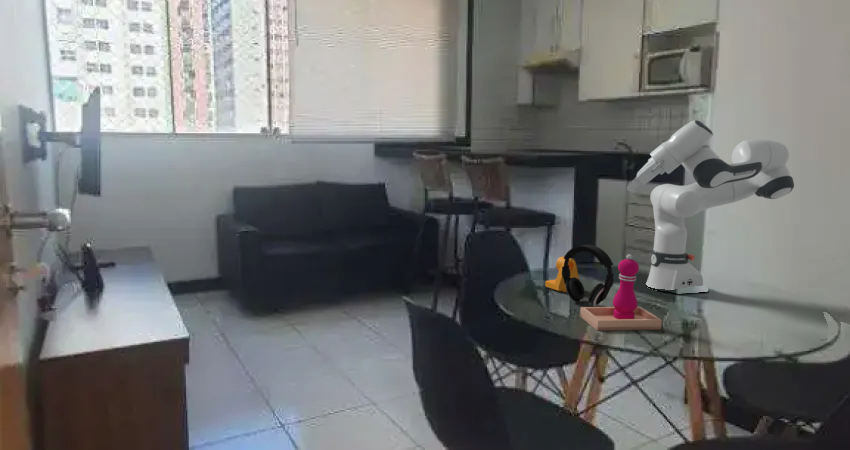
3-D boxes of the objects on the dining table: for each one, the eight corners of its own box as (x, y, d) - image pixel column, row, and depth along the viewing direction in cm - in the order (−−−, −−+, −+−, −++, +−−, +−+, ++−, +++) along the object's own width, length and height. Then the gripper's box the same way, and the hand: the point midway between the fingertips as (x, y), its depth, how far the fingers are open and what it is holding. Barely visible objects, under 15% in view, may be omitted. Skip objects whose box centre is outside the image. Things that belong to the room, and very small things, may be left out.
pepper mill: (635, 315, 187) (642, 253, 183) (635, 322, 180) (642, 257, 177) (611, 312, 189) (617, 250, 186) (610, 318, 182) (616, 255, 179)
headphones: (614, 308, 197) (619, 249, 194) (602, 312, 192) (608, 252, 188) (568, 295, 210) (572, 240, 206) (555, 299, 204) (559, 242, 201)
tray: (639, 315, 190) (640, 306, 189) (660, 329, 177) (661, 319, 177) (579, 316, 187) (580, 307, 186) (597, 330, 174) (598, 320, 174)
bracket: (564, 284, 225) (567, 253, 223) (579, 289, 219) (581, 257, 217) (543, 288, 219) (546, 256, 217) (558, 293, 213) (560, 260, 211)
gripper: (671, 169, 180) (634, 199, 185) (668, 166, 199) (635, 193, 204) (656, 154, 181) (620, 184, 186) (655, 152, 200) (622, 179, 205)
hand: (628, 188), depth 195 cm, fingers open, 8 cm apart
